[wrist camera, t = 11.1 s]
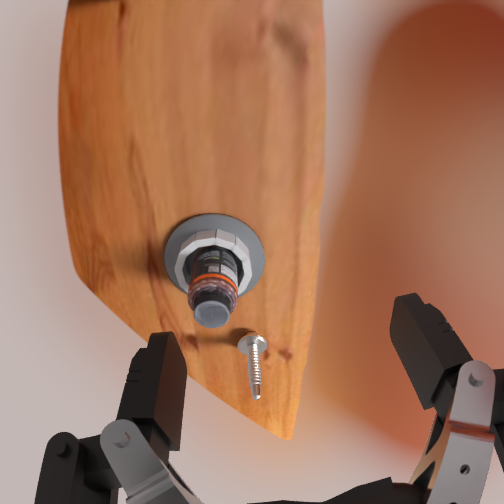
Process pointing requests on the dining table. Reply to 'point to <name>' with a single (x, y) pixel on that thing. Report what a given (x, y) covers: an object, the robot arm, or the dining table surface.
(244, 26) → the dining table surface
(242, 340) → the screw
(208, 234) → the bottle coaster
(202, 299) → the supplement bottle
